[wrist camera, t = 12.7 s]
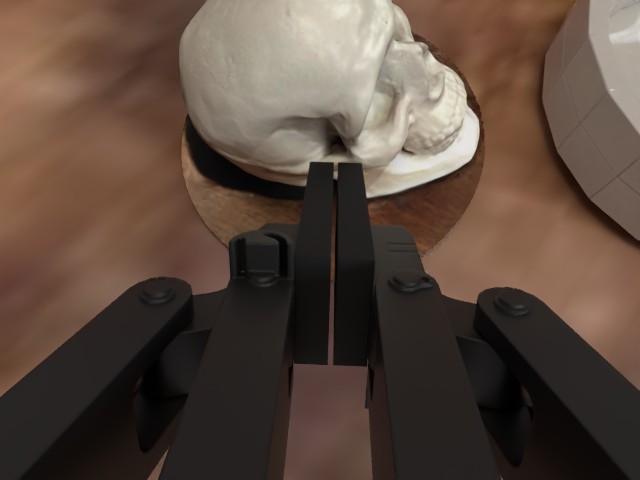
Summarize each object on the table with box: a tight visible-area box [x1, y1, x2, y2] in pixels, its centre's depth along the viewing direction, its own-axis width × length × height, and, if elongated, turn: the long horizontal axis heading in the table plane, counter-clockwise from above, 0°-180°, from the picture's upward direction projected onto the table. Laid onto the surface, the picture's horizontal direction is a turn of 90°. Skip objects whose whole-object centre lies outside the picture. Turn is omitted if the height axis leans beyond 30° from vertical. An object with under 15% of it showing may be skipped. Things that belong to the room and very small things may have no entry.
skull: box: [179, 0, 485, 281], centre depth 19 cm, size 12×10×10 cm
